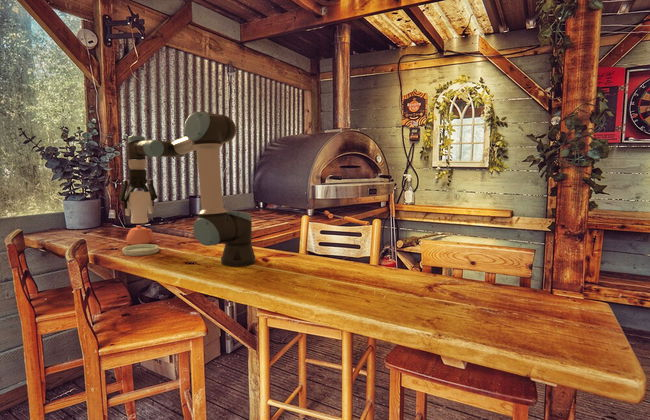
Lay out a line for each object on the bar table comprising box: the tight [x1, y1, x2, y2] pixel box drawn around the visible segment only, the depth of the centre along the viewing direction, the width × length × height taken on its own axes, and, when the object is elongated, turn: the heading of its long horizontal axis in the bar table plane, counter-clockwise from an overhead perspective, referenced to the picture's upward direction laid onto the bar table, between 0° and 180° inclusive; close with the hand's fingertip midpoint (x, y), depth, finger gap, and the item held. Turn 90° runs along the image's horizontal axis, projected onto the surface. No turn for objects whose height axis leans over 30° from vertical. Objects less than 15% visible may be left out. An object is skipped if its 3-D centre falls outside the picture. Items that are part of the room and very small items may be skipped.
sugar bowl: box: [125, 224, 155, 246], centre depth 209 cm, size 12×14×10 cm
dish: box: [121, 243, 160, 257], centre depth 192 cm, size 16×16×2 cm
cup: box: [127, 190, 151, 224], centre depth 190 cm, size 11×11×15 cm
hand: (139, 214), depth 190 cm, fingers closed on cup, 11 cm apart
